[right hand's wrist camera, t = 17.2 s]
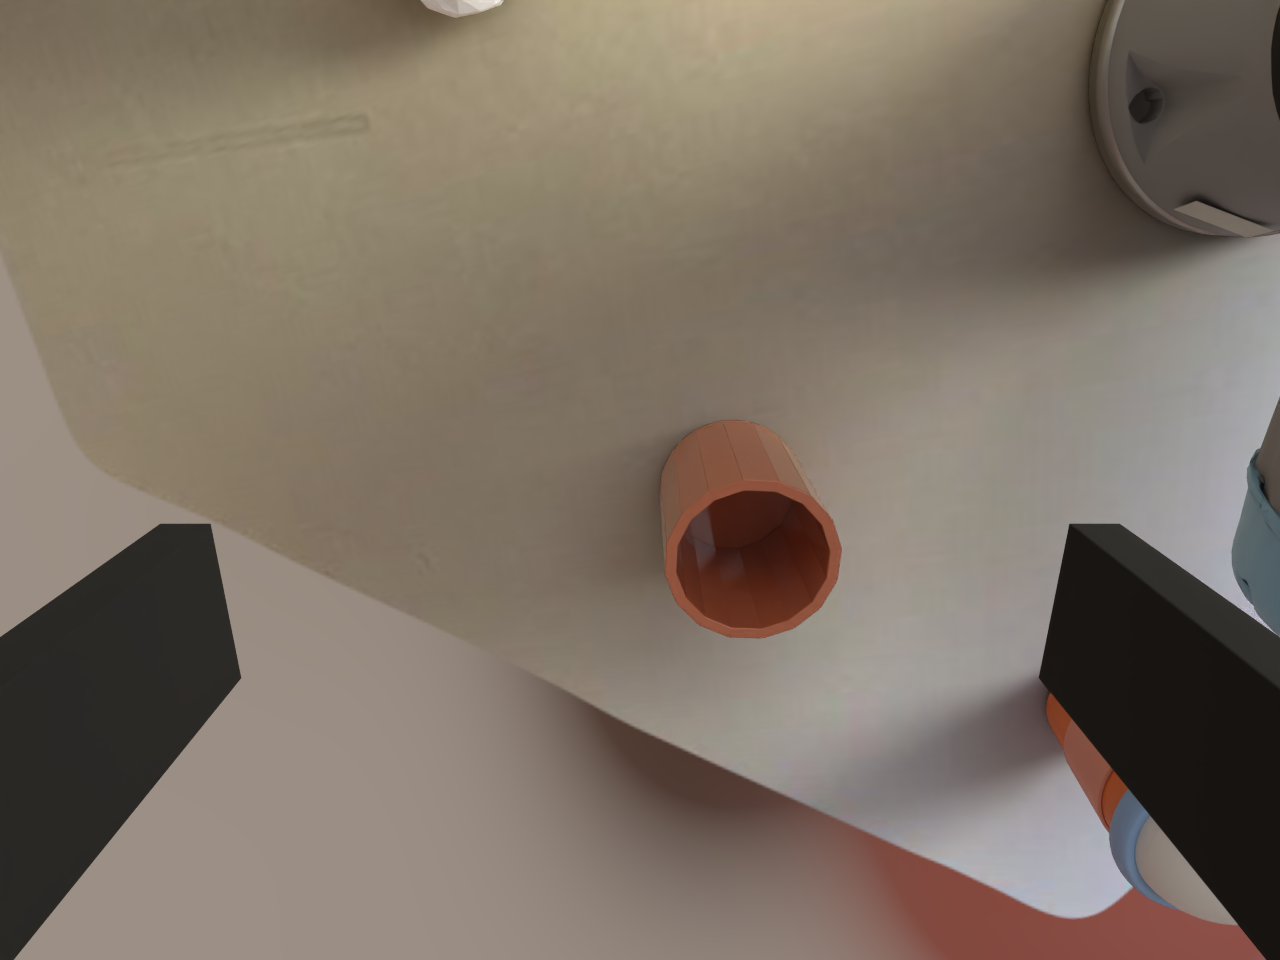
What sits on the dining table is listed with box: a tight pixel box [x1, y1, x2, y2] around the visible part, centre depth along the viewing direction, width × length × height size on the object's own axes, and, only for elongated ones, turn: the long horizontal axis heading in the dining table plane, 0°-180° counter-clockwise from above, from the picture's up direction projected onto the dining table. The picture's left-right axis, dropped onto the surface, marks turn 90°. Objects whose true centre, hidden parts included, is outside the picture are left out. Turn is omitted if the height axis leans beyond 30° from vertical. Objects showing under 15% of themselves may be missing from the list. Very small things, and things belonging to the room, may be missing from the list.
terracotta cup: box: [660, 420, 842, 638], centre depth 38 cm, size 7×7×9 cm
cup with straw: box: [1046, 693, 1238, 925], centre depth 38 cm, size 9×9×18 cm
